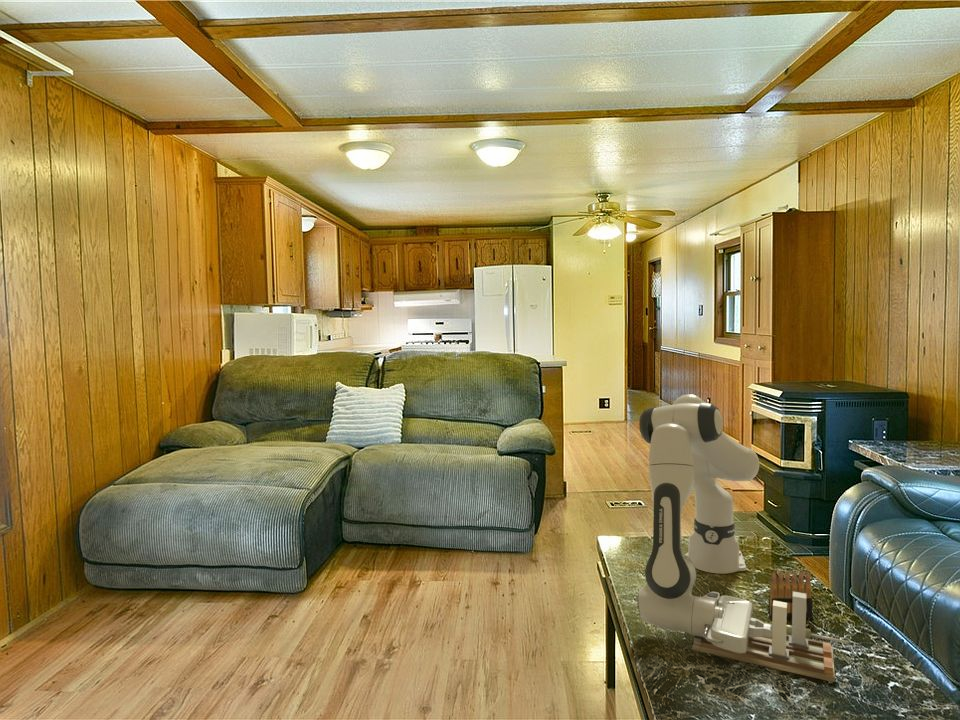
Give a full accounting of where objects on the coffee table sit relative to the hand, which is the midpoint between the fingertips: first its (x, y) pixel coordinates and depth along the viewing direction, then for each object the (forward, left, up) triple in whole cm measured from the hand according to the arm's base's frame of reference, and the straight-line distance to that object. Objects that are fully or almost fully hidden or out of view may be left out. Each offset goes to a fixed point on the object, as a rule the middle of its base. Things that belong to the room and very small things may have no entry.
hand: (772, 631), depth 139 cm
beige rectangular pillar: (0, +1, -5) cm, 5 cm away
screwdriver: (-15, +6, -7) cm, 17 cm away
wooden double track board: (-4, -2, -7) cm, 8 cm away
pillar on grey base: (-7, +5, -5) cm, 10 cm away
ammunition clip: (-26, +3, -7) cm, 27 cm away
